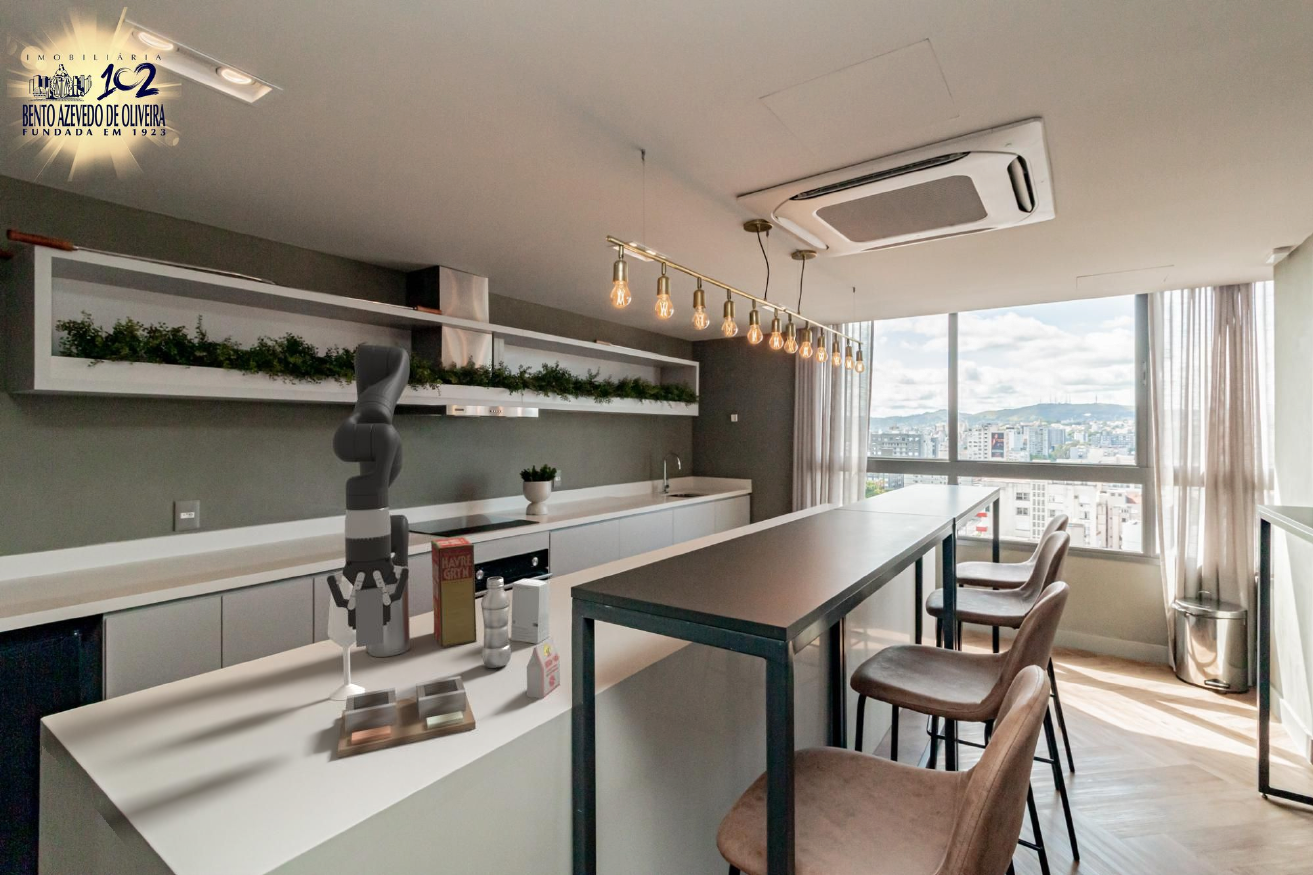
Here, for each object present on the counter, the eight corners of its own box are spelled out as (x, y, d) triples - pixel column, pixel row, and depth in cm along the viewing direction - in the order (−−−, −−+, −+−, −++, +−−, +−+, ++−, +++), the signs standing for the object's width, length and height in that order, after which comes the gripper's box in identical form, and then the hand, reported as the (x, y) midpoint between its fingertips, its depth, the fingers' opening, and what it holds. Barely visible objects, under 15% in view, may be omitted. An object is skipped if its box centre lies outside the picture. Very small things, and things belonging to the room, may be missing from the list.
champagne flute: (350, 701, 120) (347, 581, 120) (321, 699, 122) (318, 580, 121) (372, 687, 127) (370, 573, 127) (344, 685, 128) (342, 572, 128)
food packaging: (431, 632, 161) (430, 539, 161) (468, 626, 166) (466, 536, 165) (439, 648, 149) (437, 547, 149) (478, 641, 154) (476, 544, 154)
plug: (356, 647, 107) (355, 591, 107) (356, 639, 111) (355, 585, 111) (383, 643, 109) (382, 588, 109) (383, 635, 113) (382, 582, 113)
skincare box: (510, 640, 154) (509, 583, 154) (523, 633, 160) (522, 577, 160) (539, 644, 151) (538, 585, 151) (551, 636, 157) (550, 579, 157)
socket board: (337, 757, 99) (337, 729, 99) (342, 716, 114) (342, 691, 114) (475, 728, 109) (475, 702, 109) (463, 693, 123) (463, 670, 123)
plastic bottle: (515, 660, 141) (513, 575, 141) (505, 672, 134) (503, 582, 134) (488, 659, 141) (487, 574, 141) (477, 671, 135) (475, 582, 134)
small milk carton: (527, 695, 122) (526, 646, 122) (544, 682, 128) (543, 635, 128) (543, 698, 121) (542, 648, 121) (559, 684, 127) (559, 637, 127)
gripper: (321, 539, 103) (323, 639, 104) (411, 532, 109) (413, 626, 110) (325, 533, 110) (326, 626, 110) (409, 526, 116) (410, 615, 116)
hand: (369, 625), depth 110 cm, fingers closed on plug, 4 cm apart
